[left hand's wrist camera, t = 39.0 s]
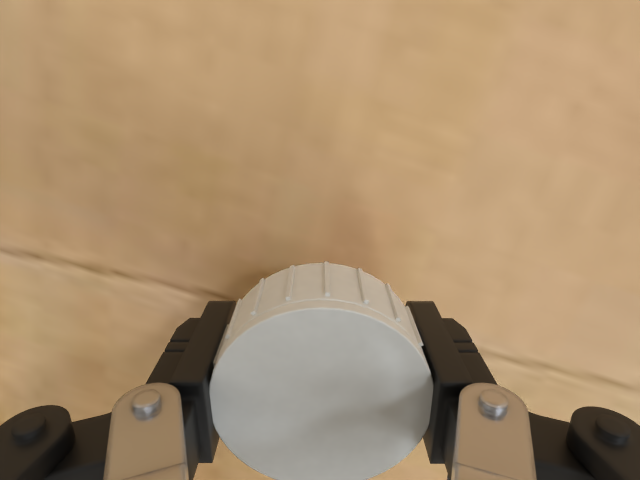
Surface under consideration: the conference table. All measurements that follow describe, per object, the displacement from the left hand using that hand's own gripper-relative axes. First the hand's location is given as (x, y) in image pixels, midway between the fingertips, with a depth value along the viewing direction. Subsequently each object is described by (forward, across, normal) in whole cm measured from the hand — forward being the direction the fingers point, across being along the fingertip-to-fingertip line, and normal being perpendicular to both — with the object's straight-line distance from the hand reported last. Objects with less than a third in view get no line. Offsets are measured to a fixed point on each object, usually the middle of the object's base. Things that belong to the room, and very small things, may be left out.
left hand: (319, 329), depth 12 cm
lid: (-3, 0, 0) cm, 3 cm away
